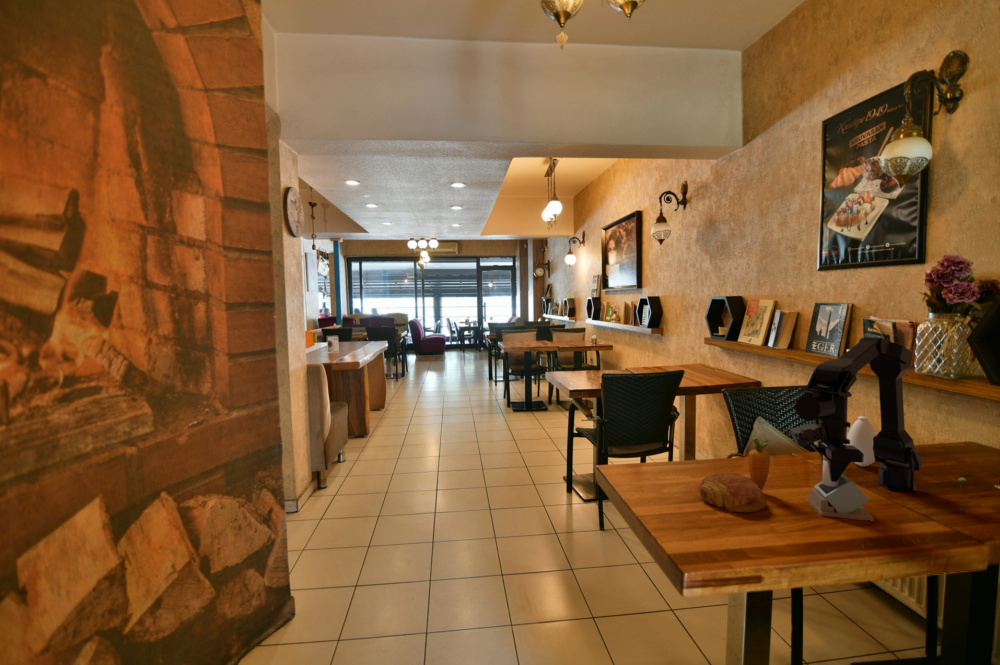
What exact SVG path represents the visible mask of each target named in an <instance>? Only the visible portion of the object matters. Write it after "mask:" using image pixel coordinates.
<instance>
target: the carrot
mask: <svg viewBox="0 0 1000 665" xmlns="http://www.w3.org/2000/svg"><path fill="white" fill-rule="evenodd" d="M752 440H753V442H754V445H753V447H754V448H755V449H752V450H750V451H749V453H748V471H749V475H750V476H749V477H750V479H752V480H753V482H754V483H755V484H756V485H757V486H758V487H759V488H760V490H761V491H763V489H764V487H765V485H766V483H767V481H768V477H769V472H770V465H771V462H770V461H771V457H770V456H771V455H770V454H769V452H767V451H765V450H764V448H765V447H767V446H768V442H769V439H768V438H765V439H764V441H763V443H762V444H761V442H760V440H759V438H757V437H756V436H755V437H753V438H752Z"/></svg>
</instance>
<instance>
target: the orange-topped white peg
mask: <svg viewBox="0 0 1000 665" xmlns="http://www.w3.org/2000/svg"><path fill="white" fill-rule="evenodd" d="M822 481H823V482H822ZM822 481H821V482H822V483H823V484H824V485H827V486H832V487H837V486H839V479H838V480H837V482H832V481H831V479H830V473H829V466H828V460H827V459H826V458H825V457H824V456H823V466H822Z"/></svg>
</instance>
